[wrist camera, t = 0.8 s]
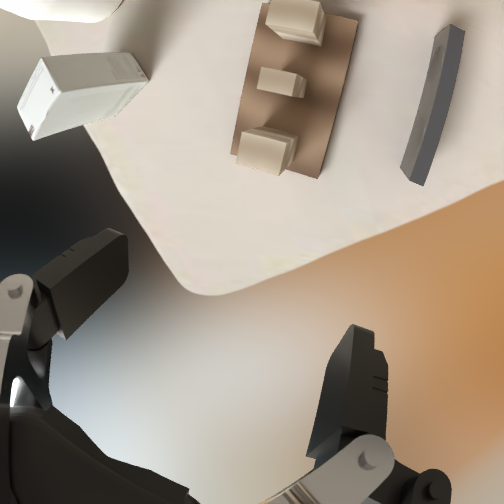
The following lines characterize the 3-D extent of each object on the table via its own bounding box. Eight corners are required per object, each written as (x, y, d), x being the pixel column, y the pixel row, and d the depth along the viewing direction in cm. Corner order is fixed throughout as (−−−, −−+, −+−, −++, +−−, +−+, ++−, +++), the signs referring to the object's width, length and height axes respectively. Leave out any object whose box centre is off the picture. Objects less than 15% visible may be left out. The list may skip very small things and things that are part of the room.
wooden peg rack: (266, 6, 25) (240, -17, 18) (357, 24, 23) (358, 0, 16) (235, 151, 34) (204, 166, 27) (318, 175, 32) (308, 196, 26)
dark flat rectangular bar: (434, 36, 21) (450, 24, 16) (447, 42, 20) (465, 31, 15) (399, 167, 29) (409, 180, 24) (411, 172, 29) (423, 186, 24)
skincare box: (132, 52, 31) (42, 50, 19) (152, 82, 33) (61, 89, 20) (97, 91, 35) (13, 105, 23) (114, 121, 37) (29, 143, 24)
